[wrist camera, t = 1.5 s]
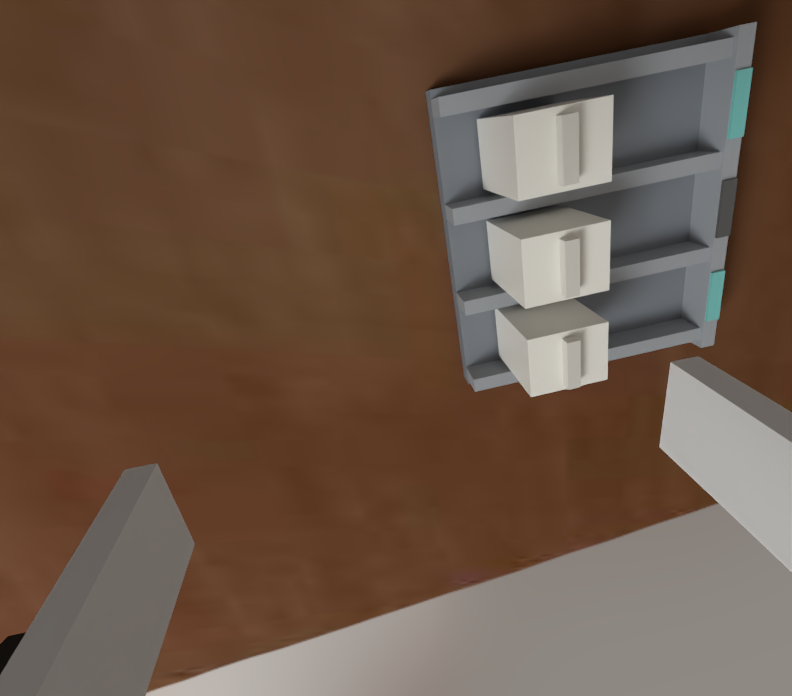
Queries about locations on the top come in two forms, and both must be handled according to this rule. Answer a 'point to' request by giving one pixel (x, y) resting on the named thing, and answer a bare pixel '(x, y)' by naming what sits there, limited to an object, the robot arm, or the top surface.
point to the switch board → (611, 189)
